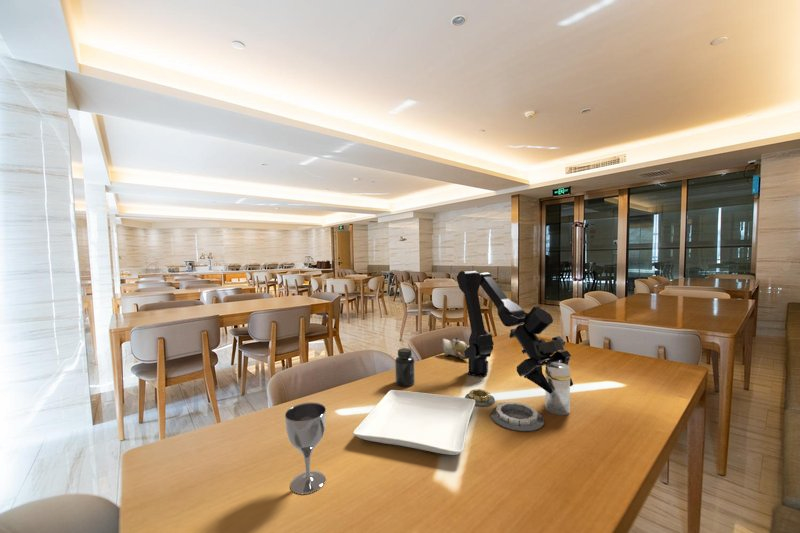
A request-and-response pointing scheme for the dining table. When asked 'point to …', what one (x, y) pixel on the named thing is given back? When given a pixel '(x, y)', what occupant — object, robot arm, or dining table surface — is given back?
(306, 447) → the wine glass
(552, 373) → the cylinder
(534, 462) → the dining table surface
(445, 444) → the square plate
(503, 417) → the collar
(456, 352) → the ceramic sculpture
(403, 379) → the supplement bottle
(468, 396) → the brass collar
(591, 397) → the dining table surface
